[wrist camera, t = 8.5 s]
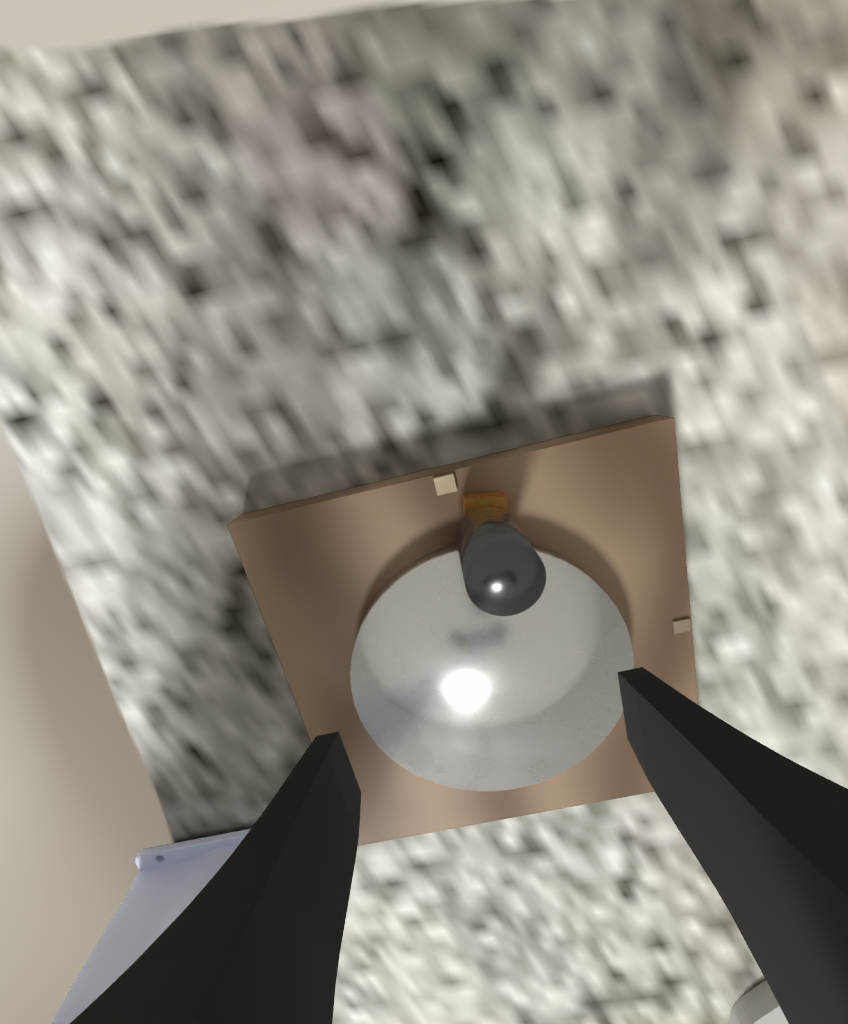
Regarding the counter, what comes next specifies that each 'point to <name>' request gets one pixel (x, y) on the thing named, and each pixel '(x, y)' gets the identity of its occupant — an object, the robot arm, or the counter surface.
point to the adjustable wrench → (757, 1007)
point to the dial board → (432, 526)
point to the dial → (490, 659)
